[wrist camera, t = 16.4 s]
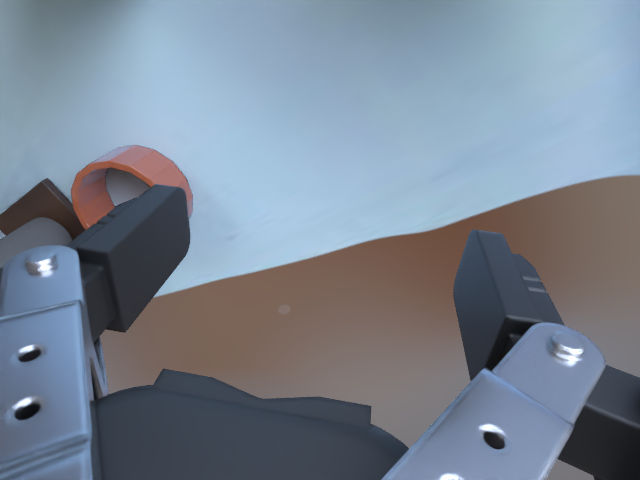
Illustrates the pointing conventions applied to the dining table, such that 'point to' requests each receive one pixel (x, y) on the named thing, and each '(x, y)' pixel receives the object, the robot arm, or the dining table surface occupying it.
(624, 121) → the dining table surface
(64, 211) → the walnut board
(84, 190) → the terracotta pot
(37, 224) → the bottle
